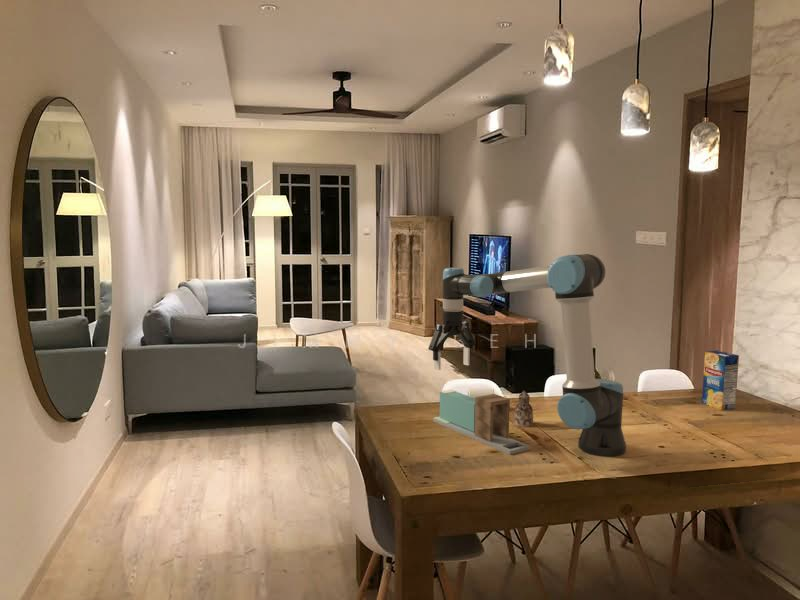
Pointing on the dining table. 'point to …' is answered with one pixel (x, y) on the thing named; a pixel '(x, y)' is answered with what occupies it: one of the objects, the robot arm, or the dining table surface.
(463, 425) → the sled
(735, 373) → the blue cardboard box
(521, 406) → the figurine
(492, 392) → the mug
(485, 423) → the tunnel
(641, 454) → the dining table surface
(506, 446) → the track board
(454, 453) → the dining table surface
